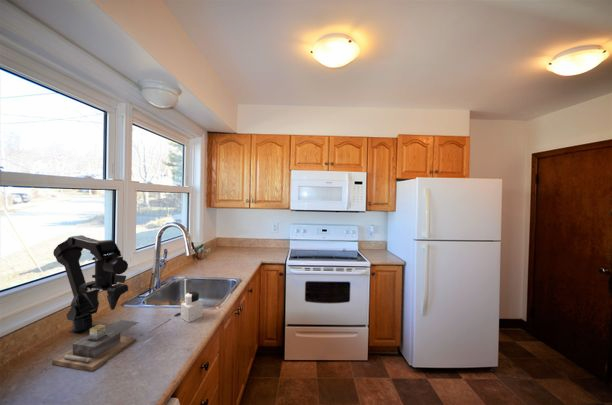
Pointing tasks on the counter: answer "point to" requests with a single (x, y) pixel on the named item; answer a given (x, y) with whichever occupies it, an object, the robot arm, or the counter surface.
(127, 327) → the key mat
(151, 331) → the tactical tomahawk
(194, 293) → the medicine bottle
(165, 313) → the counter surface
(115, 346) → the stand
